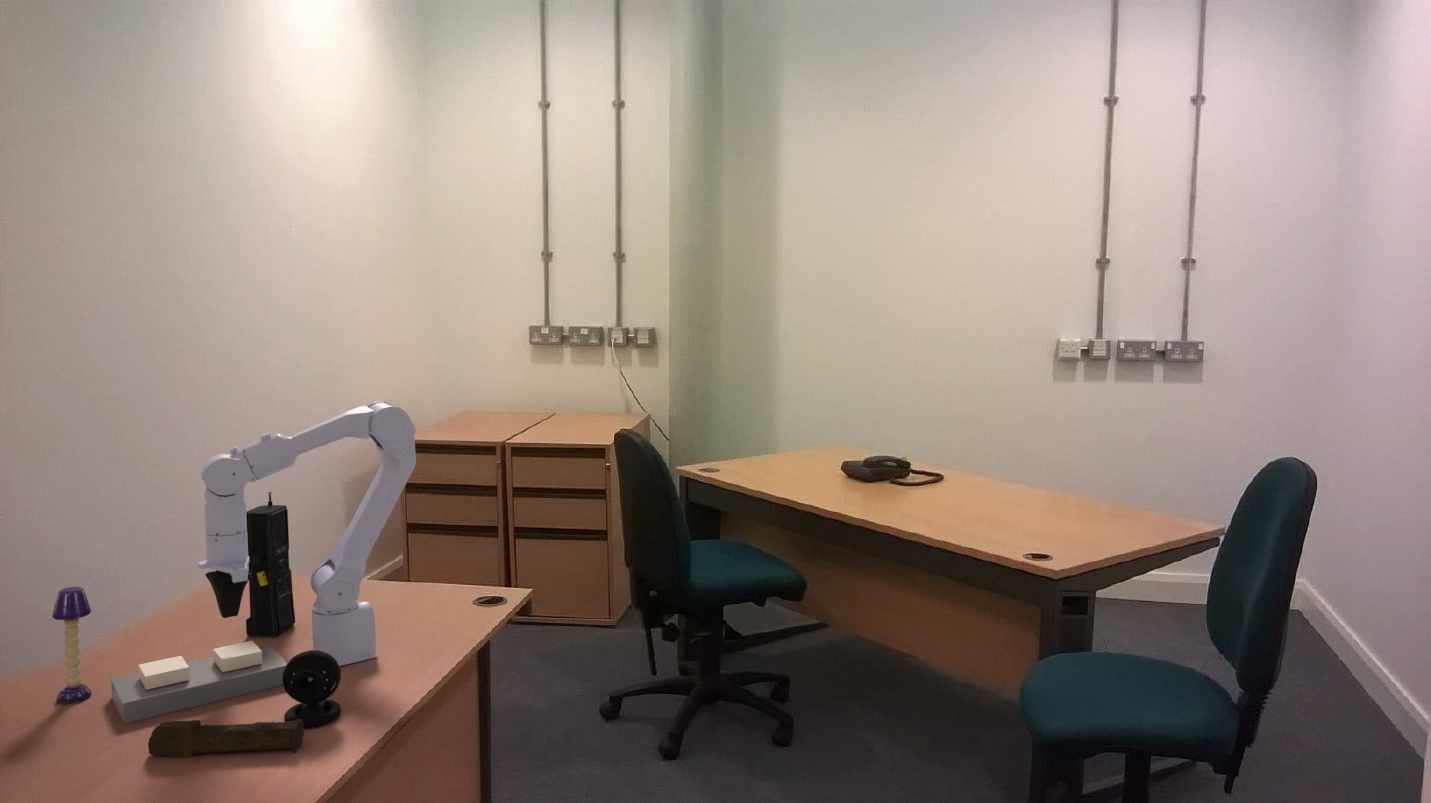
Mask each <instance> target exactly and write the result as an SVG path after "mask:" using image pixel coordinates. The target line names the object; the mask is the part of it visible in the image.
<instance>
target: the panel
mask: <svg viewBox="0 0 1431 803" xmlns="http://www.w3.org/2000/svg"><path fill="white" fill-rule="evenodd" d="M258 647H259V649H260V650H261V651H262V664H257V665H253V666H249V667H246V668H242V669H238V670H233V671H229V672H228V671H227V672H222V671H221V670H220V669H219V667H218V666H217V665H216V663H215V662H214V655H213V656H208V657H205V658H200V659H196V660H190V661H185V662H186V663H187V665H188V666H189V674H190V680H187V681H183V682H178V683H175V684H172V685H167V686H163V687H158V688H152V689H147V690H146V689H145V687H144V685H143V684H142V682H141V680H140V678H139V672H134V673H130V674H125V675H121V676H116V677H111V678H110V684H111V686H110V688H111V699H112V698H113V699H112V701H113V700H114V701H113V702H115V703H114V705H115V707H117V708H116V710H117V709H118V710H117V712H118V711H119V712H118V714H119V713H120V714H119V716H120V718H121V721H122V720H123V721H122V723H123V722H124V723H125V724H130V723H134V722H138V721H141V720H146V719H149V718H153V717H154V718H155V717H157V715H158V716H162V715H166V714H170V713H174V712H178V711H182V710H187V709H191V708H194V707H199V706H203V705H206V704H212V703H214V702H218V701H223V700H228V699H231V698H236V697H239V696H243V695H248V694H251V693H256V692H261V691H263V690H268V689H272V688H276V687H281V686H283V682H282V677H283V671H284V669H285V666H286V665H287V664H288V662H287V661H286V659H284V658H283V657H282V656H281V655H280V654H279V653H278V652H277V651H276V650H275V649H274V647H273V646H272V645H270V644H263V645H259V646H258ZM124 723H123V724H124ZM125 724H124V725H125Z"/></svg>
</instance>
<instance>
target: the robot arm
mask: <svg viewBox="0 0 1431 803" xmlns="http://www.w3.org/2000/svg"><path fill="white" fill-rule="evenodd" d="M415 435H416V427H415V426H414V424H413V421H412V419H411V418H410V415H409V414H408V413H407V412H406V411H405V410H404V409H403V408H400V407H398V406H394V405H393V404H392V403H389V402H387V401H383V400H380V401H374V402H372V403H370V404H368V405H367V406H366V405H362V406H358V407H355V408H352V409H351V410H348V411H345V412H343V413H340V414H337V415H335V416H334V417H331V418H328V419H327V420H325V421H323V422H320V423H318V424H316V425H314V426H311V427H309V428H307V429H304V430H302V431H300V432H298V433H296V434H293V435H290V436H288V435H284V434H282V433H274V434H270V432H266V433H264V434H263V433H262V434H261V435H260V438H261V439H259V440H257V441H254V442H251V443H249V444H247V445H244V446H242V447H240V448H237V446H234V447H231V448H229V452H230V454H229V453H227V454H226V453H220V454H216V455H213V456H212V457H210V458H209V459H208V460H207V462H205V463H204V465H203V468H202V471H201V472H200V473H201V478H202V480H203V482H204V484H205V486H206V487H205V492H204V499H205V504H204V528H205V529H204V530H205V531H204V532H205V548H206V549H205V550H206V553H205V554H206V559H205V560H201V561H198V562H197V567H198V568H199V569H201V570H203V569H211V570H213V571H208V572H206V573H205V574H204V575H205V577H206V578H207V580H208V582H209V583H210V585H211V587H212V591H213V593H214V595H215V599H216V603H217V606H218V611H219V614H220V615H221V617H222V618H223V619H229V618H231V617H232V618H234V617H237V616H238V615H239V612H240V609H241V602H242V599H243V596H244V594H243V593H244V591H245V588H246V586H247V584H248V583H249V579H250V576H251V573H250V572H249V565H248V564H249V561H250V560H249V556H248V539H247V516H246V511H247V501H246V500H245V487H246V485H247V483H248V482H249V483H254V482H257V481H259V480H261V479H264V478H266V477H268V476H271V475H274V474H276V473H278V472H281V471H283V470H286V469H288V468H291V467H292V466H294V464H295V462H296V460H297V459H298V456H300V455H301V454H304V453H307V452H310V451H313V450H315V449H318V448H320V447H324V446H326V445H328V444H331V443H334V442H336V441H340V440H343V439H344V438H345V439H346V438H356V439H364V440H369V439H372V441H373V442H374V444H375V445H376V449H377V452H378V454H379V456H380V459H381V461H382V463H381V464H380V467H379V468H378V469H377V470H378V471H377V472H376V474H375V475H374V478H373V479H372V481H371V483H370V485H369V486H368V487H369V488H368V489H367V491H366V493H365V495H364V496H363V498H362V500H361V502H360V504H359V506H358V507H357V510H356V512H355V513H354V516H353V517H352V519H351V521H350V522H349V525H348V527H347V528H346V530H345V533H344V534H343V536H342V538H341V539H340V541H339V544H338V545H337V546H336V547H335V548H334V549H333V550H332V551H330V553H328V554H329V555H328V556H327V558H326V560H325V561H324V562H323V563H321V564H320V565H319V566H317V567H316V568H315V569H314V570H313V573H312V574H311V577H310V587H311V589H312V591H313V593H314V594H316V599H315V601H314V602H313V604H312V605H311V616H312V617H311V619H312V623H311V625H312V650H319V651H322V652H325V653H328V654H330V655H331V656H332V657H333V658H334V659H336V661H337V663H338V665H339V667H341V666H346V665H350V664H354V663H358V662H362V661H366V660H370V659H375V658H378V653H377V647H376V643H377V642H376V638H377V637H376V636H377V635H376V616H375V613H374V612H375V611H374V608H373V606H372V604H371V602H369V601H367V600H366V601H359V600H358V599H359V596H360V592H361V591H360V590H361V589H360V587H361V586H360V585H361V582H362V580H363V578H364V575H365V573H366V572H365V571H366V564H367V559H368V557H369V555H370V553H371V551H372V549H373V547H374V545H375V544H376V542H377V540H378V538H379V536H380V534H381V532H382V530H383V529H384V527H385V525H386V523H387V521H388V519H389V517H390V515H391V513H392V512H393V509H394V507H395V506H396V505H397V504H396V503H397V502H398V500H399V498H400V496H401V494H402V492H403V490H404V489H405V487H406V485H407V482H408V480H409V479H410V477H411V475H412V474H413V472H414V469H415V467H416V465H417V457H416V456H417V455H416V443H415V442H416V441H415Z"/></svg>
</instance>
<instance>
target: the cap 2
mask: <svg viewBox="0 0 1431 803" xmlns="http://www.w3.org/2000/svg"><path fill="white" fill-rule="evenodd" d="M212 652H213V654H212V655H213V656H214V662H215V663H216V665H217V666H218V667H219V669H220V670H221V671H222V672H227V671H228V672H229V671H233V670H238V669H242V668H246V667H249V666H253V665H257V664H262V651H261V650H260V649H259V646H258V645H257V644H256V643H255V642H254V641H253V640H250V641H249V640H248V641H244V642H240V643H235V644H230V645H225V646H220V647H216V648H213V649H212Z"/></svg>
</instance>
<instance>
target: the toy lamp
mask: <svg viewBox="0 0 1431 803" xmlns="http://www.w3.org/2000/svg"><path fill="white" fill-rule="evenodd" d="M54 604H55V605H54V608H53V610H52V611H53V612H52V618H53V619H54V620H57V621H63V624H64V626H65V628H64V636H65V638H64V644H65V650H64V654H65V656H66V659H65V666H66V670H65V673H66V674H65V675H66V677H67V678H66V680H65V681H66V683H65V684H66V686H65V687H63V688H61V690H60V691H59V692H58V694H57V696H56V703H58V702H59V704H64V703H66V704H72V703H71V702H74V703H76V702H75V701H78V702H81V701H80V700H82V699H85V698H87V699H89V698H90V697H91V696H92V691H91V689H90V688H89V686H87V685H85V684H83V683H81V682H82V677H81V676H80V675H81V672H82V671H81V670H82V669H81V667H80V666H81V665H80V663H81V657H80V652H81V648H80V645H79V644H80V636H79V634H80V627H79V622H80V619H81V618H84V617H86V616H88V615H90V614H91V612H92V609H91V606H90V602H89V601H88V597H87V595H86V592H85V590H84V588H83V587H81V586H70V587H65V588H62V589H60V590H59V591H58V593H57V596H56V600H55V603H54ZM88 697H89V698H88ZM85 700H86V699H85ZM82 701H83V700H82Z"/></svg>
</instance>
